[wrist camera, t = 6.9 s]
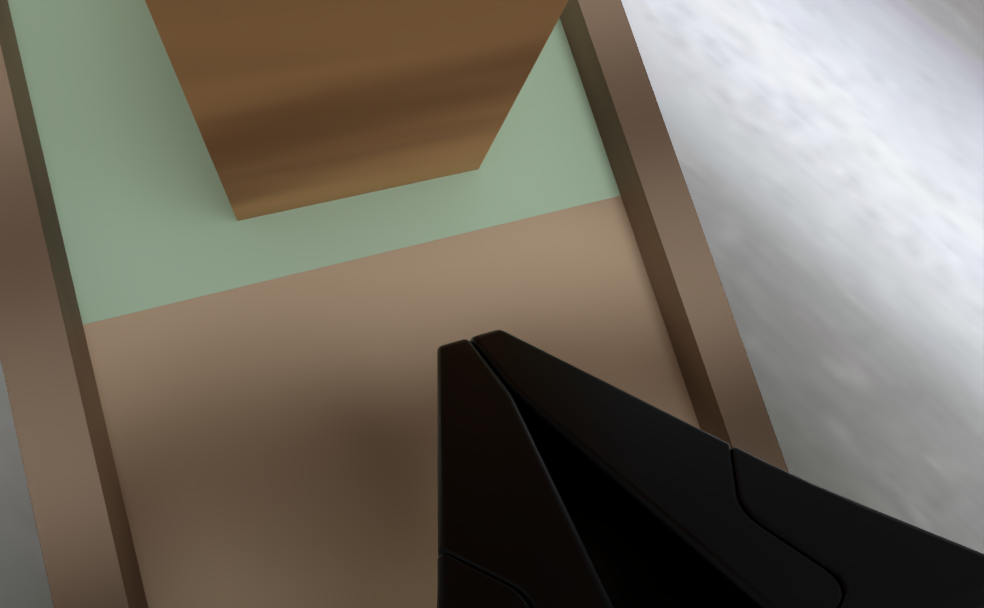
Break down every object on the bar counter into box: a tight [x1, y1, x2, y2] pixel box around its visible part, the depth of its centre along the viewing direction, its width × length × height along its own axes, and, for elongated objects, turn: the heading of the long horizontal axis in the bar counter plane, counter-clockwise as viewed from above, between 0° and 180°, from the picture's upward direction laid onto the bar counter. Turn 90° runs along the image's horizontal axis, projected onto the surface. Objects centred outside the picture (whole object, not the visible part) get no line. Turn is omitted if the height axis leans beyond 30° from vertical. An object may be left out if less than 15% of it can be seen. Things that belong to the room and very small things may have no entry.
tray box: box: [0, 0, 788, 608], centre depth 14 cm, size 30×13×4 cm, turn 17°
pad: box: [8, 0, 621, 325], centre depth 15 cm, size 8×11×2 cm
